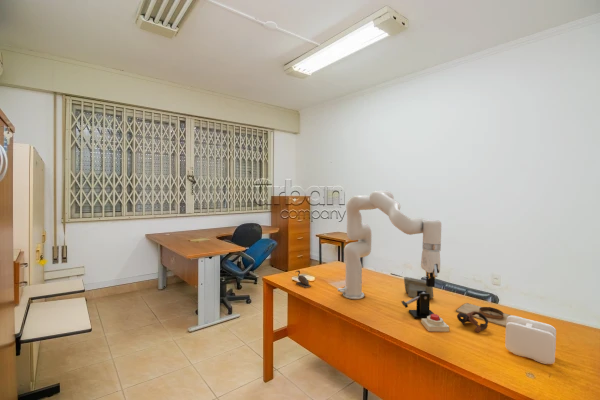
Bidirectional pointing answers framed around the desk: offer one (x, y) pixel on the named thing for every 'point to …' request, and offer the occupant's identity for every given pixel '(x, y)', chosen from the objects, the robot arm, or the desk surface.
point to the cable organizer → (531, 339)
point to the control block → (434, 324)
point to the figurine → (302, 281)
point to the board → (485, 313)
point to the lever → (410, 301)
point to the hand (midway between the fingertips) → (430, 286)
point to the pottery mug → (473, 320)
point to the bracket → (422, 306)
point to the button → (435, 317)
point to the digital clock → (416, 287)
